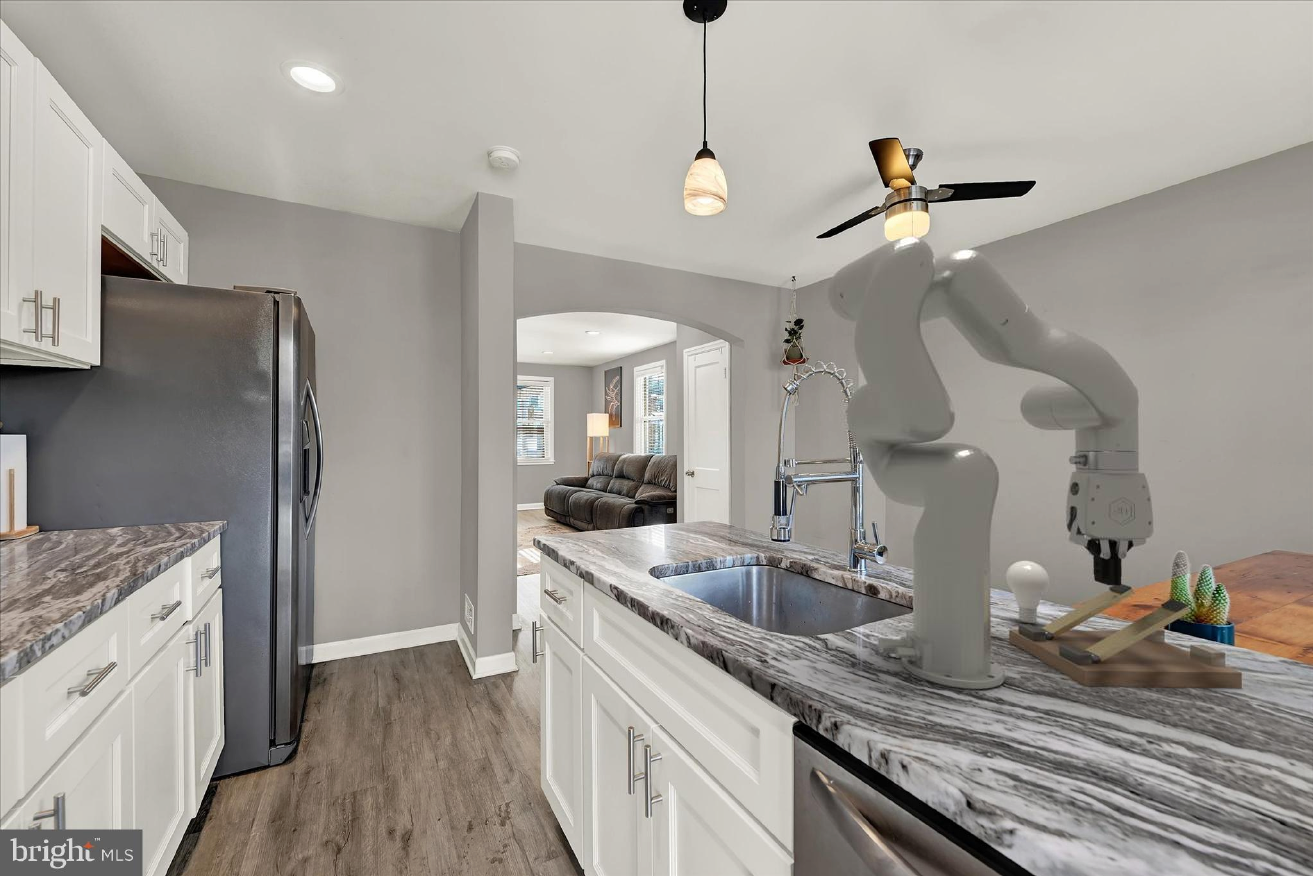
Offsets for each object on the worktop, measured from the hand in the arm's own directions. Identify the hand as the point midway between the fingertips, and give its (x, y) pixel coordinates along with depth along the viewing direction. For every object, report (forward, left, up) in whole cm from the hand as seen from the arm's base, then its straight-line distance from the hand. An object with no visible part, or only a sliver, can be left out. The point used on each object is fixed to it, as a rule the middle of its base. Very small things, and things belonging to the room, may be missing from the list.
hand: (1107, 583), depth 84 cm
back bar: (-3, 0, -5) cm, 6 cm away
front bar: (-3, -9, -5) cm, 11 cm away
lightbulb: (-4, +13, -11) cm, 17 cm away
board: (-3, -5, -10) cm, 12 cm away
